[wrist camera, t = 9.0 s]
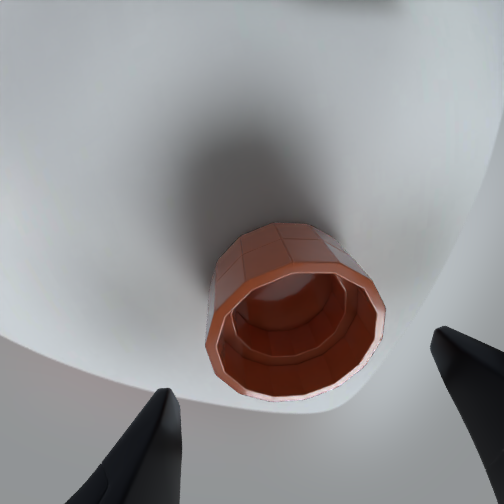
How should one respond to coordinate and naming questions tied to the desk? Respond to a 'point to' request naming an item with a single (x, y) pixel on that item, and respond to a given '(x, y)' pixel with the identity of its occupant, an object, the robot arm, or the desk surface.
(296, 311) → the rice bowl
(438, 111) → the desk surface
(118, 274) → the desk surface
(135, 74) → the desk surface
